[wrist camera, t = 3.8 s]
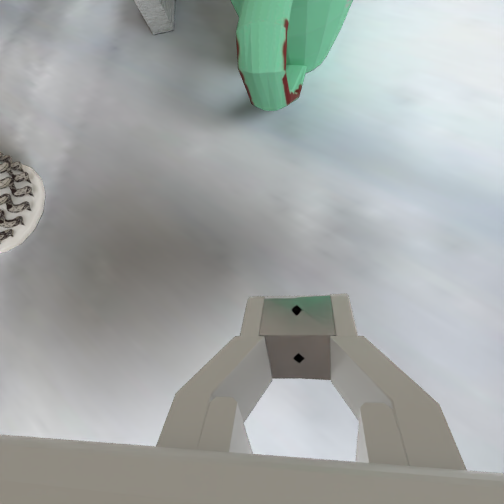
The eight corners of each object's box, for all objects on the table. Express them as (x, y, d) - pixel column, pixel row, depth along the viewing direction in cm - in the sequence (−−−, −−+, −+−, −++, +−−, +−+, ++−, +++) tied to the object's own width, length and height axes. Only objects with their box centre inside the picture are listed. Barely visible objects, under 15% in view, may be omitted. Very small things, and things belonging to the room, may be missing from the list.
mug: (248, 3, 25) (209, -190, 15) (368, -6, 23) (409, -239, 13) (217, 158, 22) (146, 41, 13) (349, 165, 20) (383, 29, 11)
